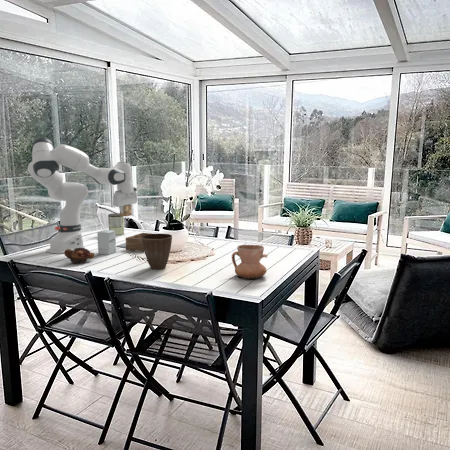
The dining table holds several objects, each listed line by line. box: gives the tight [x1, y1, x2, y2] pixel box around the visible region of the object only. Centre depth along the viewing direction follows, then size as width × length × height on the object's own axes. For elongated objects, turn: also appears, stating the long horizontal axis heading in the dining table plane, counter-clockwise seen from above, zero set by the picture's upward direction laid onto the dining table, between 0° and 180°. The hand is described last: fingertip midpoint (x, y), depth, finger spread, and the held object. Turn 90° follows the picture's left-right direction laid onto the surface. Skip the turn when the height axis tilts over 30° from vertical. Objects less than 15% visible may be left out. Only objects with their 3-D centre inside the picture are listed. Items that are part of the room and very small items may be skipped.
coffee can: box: [107, 212, 125, 237], centre depth 309 cm, size 10×10×14 cm
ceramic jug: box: [231, 244, 269, 280], centre depth 208 cm, size 18×14×14 cm
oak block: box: [119, 205, 133, 217], centre depth 271 cm, size 5×5×6 cm
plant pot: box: [141, 233, 173, 271], centre depth 223 cm, size 15×15×16 cm
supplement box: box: [96, 229, 117, 256], centre depth 255 cm, size 7×7×13 cm
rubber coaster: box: [116, 242, 126, 249], centre depth 274 cm, size 9×9×1 cm
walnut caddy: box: [125, 232, 153, 252], centre depth 269 cm, size 18×14×7 cm
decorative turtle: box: [63, 247, 95, 265], centre depth 234 cm, size 10×15×8 cm, turn 130°
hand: (125, 212), depth 271 cm, fingers closed on oak block, 5 cm apart
